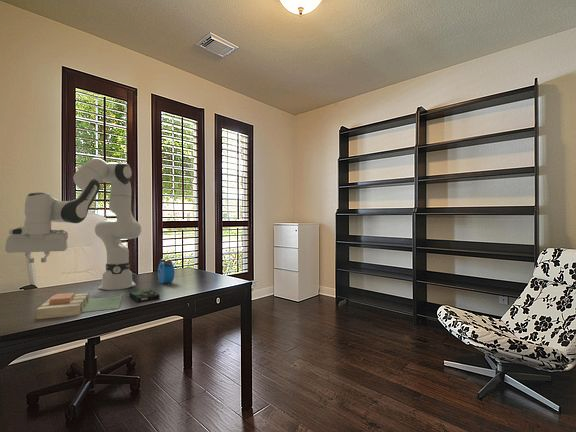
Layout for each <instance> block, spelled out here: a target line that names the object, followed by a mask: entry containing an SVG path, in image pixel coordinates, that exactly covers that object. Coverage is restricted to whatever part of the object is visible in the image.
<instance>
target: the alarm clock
mask: <svg viewBox="0 0 576 432" xmlns="http://www.w3.org/2000/svg"><path fill="white" fill-rule="evenodd" d="M157 276H158V281H159V283H160V284H167V283H168V284H169V283H170V284H171V283H172V282H173V281H174V278H175V266H174V264H173V261H172V260H171V259H167V258H165V257H164V258H161V259H160V260H159V264H158V268H157Z"/></svg>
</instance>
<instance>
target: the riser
mask: <svg viewBox="0 0 576 432" xmlns="http://www.w3.org/2000/svg"><path fill="white" fill-rule="evenodd" d="M53 296H54V295H52V296H51V297H50V298H49V299H48V300H46V301H45V302H44V303H42V304H41V305H40V306H39V307H38V308H36V320H44V319H51V318H53V319H55V318H62V317H63V318H64V317H73V316H80V315H81V314H82V313H81V311H82V309H83V308H84V307H85V305H86V304H87V302H88V301H89V299H90V298H89V297H90V293H89V292H85V293H84V292H83V293H75V297H74V298H73V300H72V301H71V302H70V303H60V304H49V300H50V299H51V298H52V297H53Z"/></svg>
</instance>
